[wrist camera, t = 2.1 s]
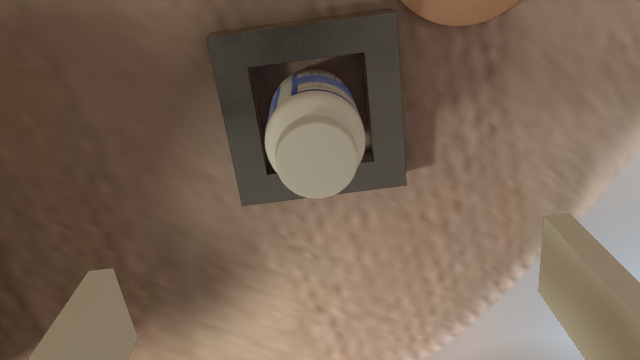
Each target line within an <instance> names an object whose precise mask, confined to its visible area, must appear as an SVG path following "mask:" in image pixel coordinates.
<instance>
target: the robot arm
mask: <svg viewBox="0 0 640 360" xmlns="http://www.w3.org/2000/svg"><path fill="white" fill-rule="evenodd" d="M538 291H539V293H540V294H541V296H542V297H543V299H544V300H545V302H546V303H547V305H548V306H549V307H550V309H551V310H552V312H553V313H554V315H555V316H556V318H557V319H558V321H559V322H560V324H561V325H562V326H563V328H564V329H565V331H566V332H567V334H568V335H569V337H570V338H571V340H572V341H573V342H574V344H575V345H576V347H577V348H578V350H579V351H580V352H581V354H582V356H583V357H584V358H585V360H640V283H639V282H638V281H637V280H636V279H635V278H634V277H633V276H632V275H631V274H630V273H629V272H628V271H627V270H626V269H625V268H624V267H623V266H622V265H621V264H620V263H619V262H618V261H617V260H616V259H615V258H614V257H613V256H612V255H611V254H610V253H609V252H608V251H607V250H606V249H605V248H604V247H603V246H602V245H601V244H600V243H599V242H598V241H597V240H596V239H595V238H594V237H593V236H592V235H591V234H590V233H589V232H588V231H587V230H586V229H585V228H584V227H583V226H582V225H581V224H580V223H579V222H578V221H577V220H576V219H575V218H574V217H573V216H572V215H571V214H570V213H569V214H560V215H552V216H544V218H543V233H542V247H541V261H540V276H539V290H538ZM137 338H138V337H137V334H136V331H135V329H134V326H133V323H132V320H131V317H130V315H129V312H128V309H127V306H126V303H125V301H124V298H123V295H122V292H121V289H120V286H119V284H118V281H117V278H116V275H115V272H114V270H113V268H111V269H102V270H94V271H88V273H87V274H86V276H85V277H84V279H83V280H82V281H81V283H80V284H79V286H78V287H77V289H76V290H75V292H74V293H73V295H72V296H71V297H70V299H69V300H68V302H67V303H66V305H65V306H64V308H63V309H62V311H61V312H60V314H59V315H58V316H57V318H56V319H55V321H54V322H53V324H52V325H51V327H50V328H49V330H48V331H47V332H46V334H45V335H44V337H43V338H42V340H41V341H40V343H39V344H38V346H37V347H36V348H35V350H34V351H33V353H32V354H31V356H30V357H29V359H28V360H128V359H129V356H130V354H131V352H132V350H133V347H134V345H135V343H136V341H137Z"/></svg>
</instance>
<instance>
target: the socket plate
mask: <svg viewBox="0 0 640 360" xmlns="http://www.w3.org/2000/svg"><path fill="white" fill-rule="evenodd" d="M206 39H207V43H208V48H209V53H210V57H211V62H212V67H213V71H214V76H215V81H216V85H217V90H218V95H219V100H220V104H221V109H222V114H223V118H224V123H225V128H226V132H227V137H228V142H229V146H230V151H231V156H232V161H233V165H234V170H235V175H236V179H237V184H238V189H239V193H240V198H241V203H242V206H247V205H255V204H262V203H270V202H278V201H286V200H294V199H302V198H306V197H303V196H300V195H298V194H296V193H294V192H292V191H291V190H290V189H289V188H287V187H286V186H285V185H284V183H283V182H282V181H281V179H280V177H279V175H278V174H277V172H276V171H275V170H274V169H273V167H272V165H271V164H270V163H269V162H268V156H267V153H266V149H265V140H264V134H263V129H262V123H261V117H260V112H259V106H258V101H257V95H256V90H255V84H254V79H253V73H252V68H251V67H256V66H263V65H271V64H279V63H286V62H294V61H301V60H309V59H316V58H324V57H332V56H339V55H347V54H354V53H362V61H363V72H364V84H365V95H366V107H367V118H368V129H369V141H370V150H369V151H364V155H363V157H362V160H361V162H360V164H359V166H358V167H357V169H356V172H355V175H354V177H353V179H352V180H351V182H350V183H349V184H348V185H347V186H346V188H344V189H343V190H342V191H340V192H339V193H337V194H342V193H350V192H358V191H366V190H374V189H382V188H390V187H398V186H405V185H407V183H406V165H405V148H404V131H403V113H402V96H401V78H400V61H399V44H398V26H397V12H396V11H394V10H392V9H384V10H377V11H370V12H362V13H355V14H347V15H340V16H332V17H325V18H317V19H310V20H302V21H295V22H287V23H280V24H272V25H265V26H257V27H250V28H242V29H235V30H227V31H220V32H213V33H211V34H210V35H209V36H208V37H206Z"/></svg>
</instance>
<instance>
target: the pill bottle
mask: <svg viewBox="0 0 640 360" xmlns="http://www.w3.org/2000/svg"><path fill="white" fill-rule="evenodd" d="M265 149H266V153H267V156H268V159H269V161H270V164H271V165H272V167H273V169H274V170H275V171H276V172H277V174H278V175H279V177H280V179H281V181H282V182H283V183H284V185H285V186H286V187H287V188H289V189H290V190H291V191H292V192H294V193H296V194H298V195H300V196H303V197H306V198H312V199H321V198H326V197H330V196H333V195H335V194H337V193H339V192H340V191H342V190H343V189H344V188H346V186H347V185H348V184H349V183H350V182H351V180H352V179H353V177H354V175H355V172H356V169H357V167H358V166H359V164H360V162H361V160H362V157H363V155H364V151H365V132H364V127H363V124H362V121H361V118H360V115H359V112H358V110H357V107H356V105H355V102H354V99H353V97H352V94H351V92H350V90H349V88H348V87H347V86H346V84H345V83H344V82H343V81H342V80H341V79H340V78H339V77H338V76H336V75H335V74H333V73H331V72H329V71H326V70H323V69H315V68H312V69H304V70H301V71H298V72H295V73H293V74H292V75H290V76H288V77H287V78H286V79H285V80H284V81H283V82H282V83H281V84H280V85H279V86H278V88H277V90H276V91H275V93H274V96H273V98H272V102H271V107H270V112H269V117H268V121H267V126H266V132H265Z"/></svg>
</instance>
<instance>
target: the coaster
mask: <svg viewBox="0 0 640 360" xmlns="http://www.w3.org/2000/svg"><path fill="white" fill-rule="evenodd" d="M400 1H401V2H402V3H403V4H404V5H405V6H406V7H407V8H409V9H410V10H411V11H413V12H414V13H415V14H417V15H419V16H421V17H423V18H425V19H426V20H429V21H432V22H434V23H437V24H442V25H447V26H468V25H473V24H478V23H482V22H485V21H488V20H490V19H492V18H494V17H496V16H498V15H500V14H502V13H504V12H505V11H507V10H508V9H510V8H511V7H512V6H513V5H515V4H516V3H517V2H518V1H520V0H400Z"/></svg>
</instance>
